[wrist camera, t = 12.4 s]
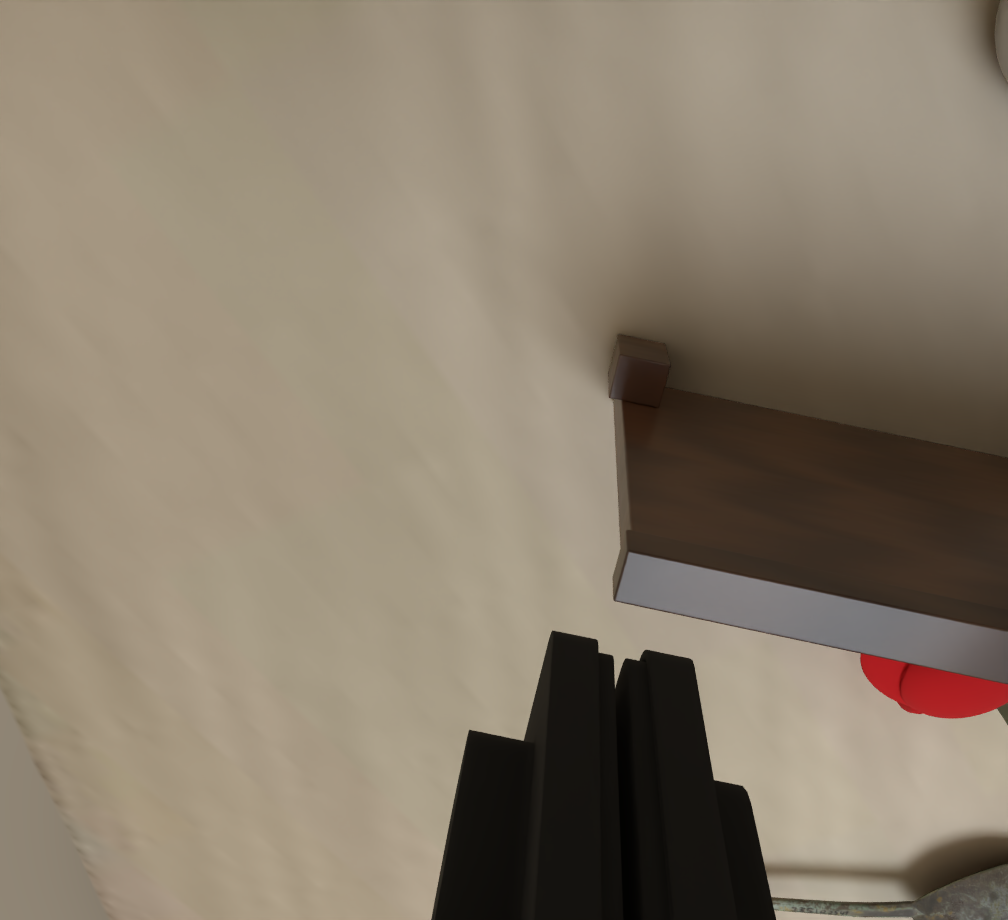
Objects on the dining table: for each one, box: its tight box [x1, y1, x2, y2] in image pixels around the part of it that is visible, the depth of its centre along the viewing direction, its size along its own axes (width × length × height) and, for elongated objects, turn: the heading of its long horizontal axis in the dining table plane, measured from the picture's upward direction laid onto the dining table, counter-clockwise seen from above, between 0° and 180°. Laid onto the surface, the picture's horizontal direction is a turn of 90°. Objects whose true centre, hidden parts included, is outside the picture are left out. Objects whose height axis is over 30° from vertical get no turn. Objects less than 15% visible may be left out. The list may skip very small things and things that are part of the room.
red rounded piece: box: [860, 653, 1008, 718], centre depth 36 cm, size 8×6×6 cm
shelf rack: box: [608, 334, 1008, 725], centre depth 31 cm, size 23×13×15 cm, turn 79°
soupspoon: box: [771, 863, 1008, 920], centre depth 44 cm, size 22×3×7 cm
